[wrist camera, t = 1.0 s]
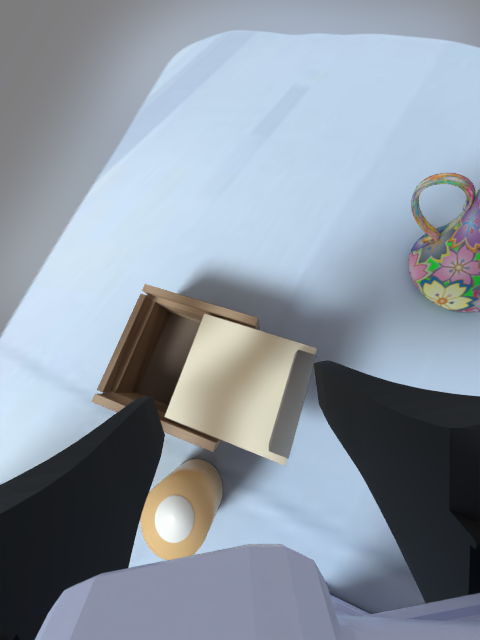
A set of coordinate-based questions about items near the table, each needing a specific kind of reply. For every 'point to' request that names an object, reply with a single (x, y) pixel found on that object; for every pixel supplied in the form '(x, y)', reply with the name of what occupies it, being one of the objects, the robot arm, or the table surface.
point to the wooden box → (160, 355)
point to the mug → (449, 251)
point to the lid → (243, 387)
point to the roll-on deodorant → (182, 509)
